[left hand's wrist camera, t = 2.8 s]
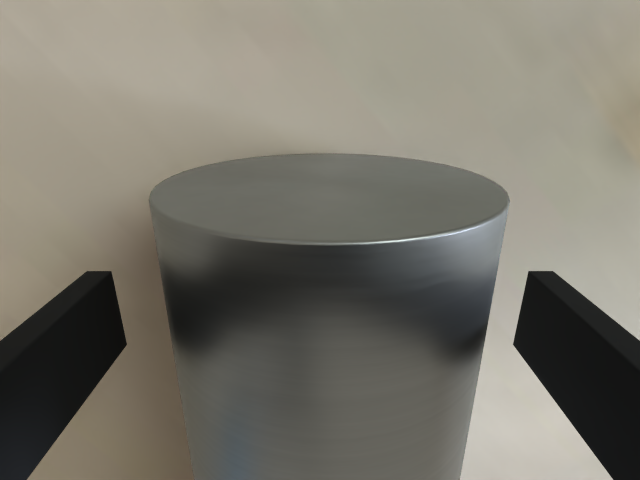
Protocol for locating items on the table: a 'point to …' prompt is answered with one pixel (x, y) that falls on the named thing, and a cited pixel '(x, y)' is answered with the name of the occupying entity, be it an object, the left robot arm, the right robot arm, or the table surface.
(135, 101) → the table surface
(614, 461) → the left robot arm
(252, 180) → the rod
